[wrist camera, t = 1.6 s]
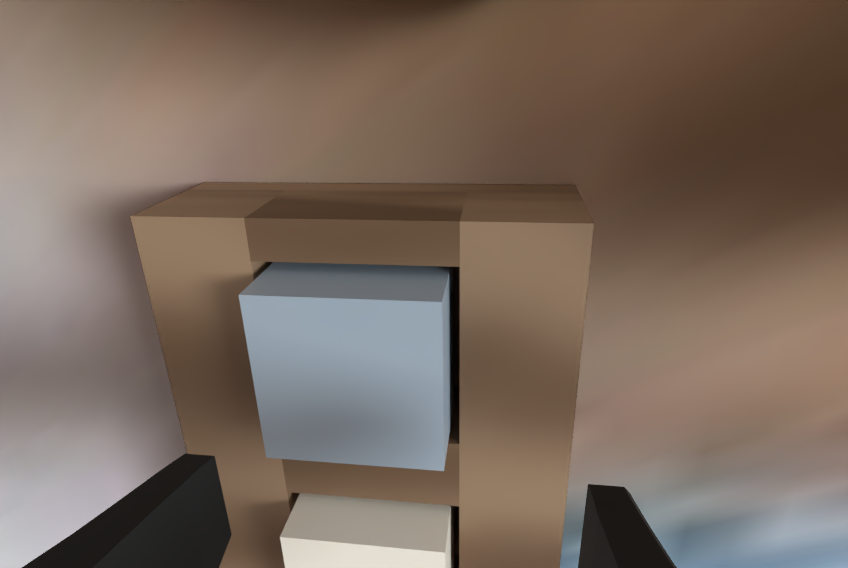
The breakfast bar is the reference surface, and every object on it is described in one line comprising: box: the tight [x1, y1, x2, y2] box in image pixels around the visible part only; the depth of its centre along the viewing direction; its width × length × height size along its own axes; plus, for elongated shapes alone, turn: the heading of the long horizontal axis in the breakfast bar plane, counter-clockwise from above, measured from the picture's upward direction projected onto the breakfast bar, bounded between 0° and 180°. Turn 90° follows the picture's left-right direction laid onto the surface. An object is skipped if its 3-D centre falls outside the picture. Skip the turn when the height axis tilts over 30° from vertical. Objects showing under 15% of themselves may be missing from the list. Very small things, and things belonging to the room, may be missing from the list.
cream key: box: [280, 493, 454, 568], centre depth 19 cm, size 5×5×3 cm
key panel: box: [130, 182, 594, 568], centre depth 21 cm, size 24×12×4 cm, turn 1°
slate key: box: [239, 262, 454, 471], centre depth 16 cm, size 5×5×3 cm
